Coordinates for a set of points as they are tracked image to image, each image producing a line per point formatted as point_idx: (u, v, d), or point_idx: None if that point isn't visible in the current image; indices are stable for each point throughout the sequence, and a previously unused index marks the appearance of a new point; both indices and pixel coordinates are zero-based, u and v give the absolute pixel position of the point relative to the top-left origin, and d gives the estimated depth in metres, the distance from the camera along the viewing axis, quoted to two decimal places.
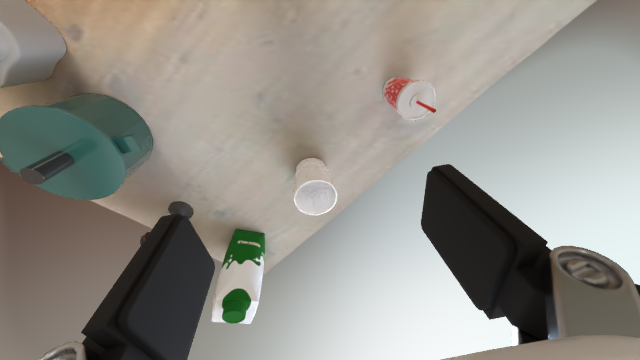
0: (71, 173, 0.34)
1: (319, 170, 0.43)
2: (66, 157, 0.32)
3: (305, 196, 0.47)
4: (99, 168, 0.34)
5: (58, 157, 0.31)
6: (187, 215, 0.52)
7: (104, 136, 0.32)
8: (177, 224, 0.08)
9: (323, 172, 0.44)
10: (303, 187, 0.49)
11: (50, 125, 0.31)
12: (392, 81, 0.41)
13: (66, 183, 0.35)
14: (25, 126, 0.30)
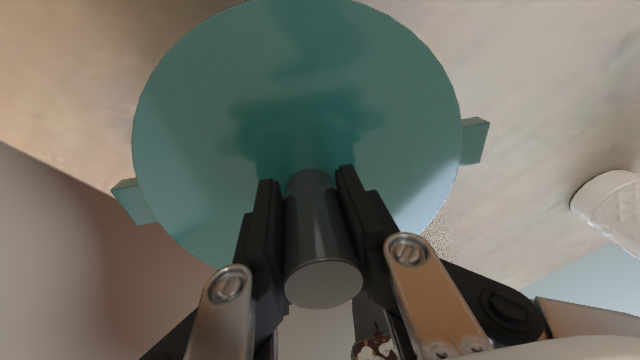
0: None
1: None
2: (335, 188, 0.10)
3: None
4: None
5: (332, 191, 0.09)
6: None
7: (459, 122, 0.10)
8: (275, 186, 0.09)
9: None
10: None
11: (331, 80, 0.09)
12: None
13: None
14: (250, 81, 0.08)
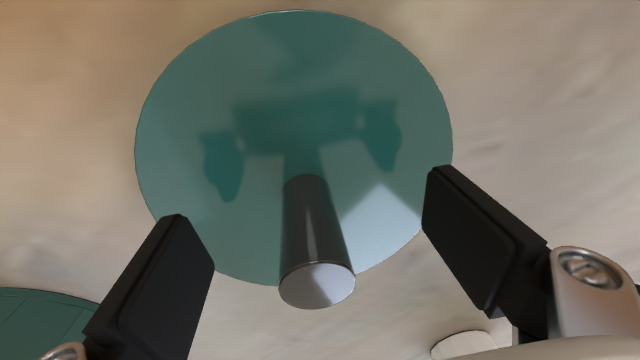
0: None
1: None
2: (330, 193, 0.11)
3: None
4: (376, 217, 0.13)
5: (327, 196, 0.10)
6: None
7: (450, 129, 0.10)
8: (177, 224, 0.08)
9: None
10: None
11: (325, 90, 0.09)
12: None
13: (276, 254, 0.13)
14: (248, 91, 0.09)
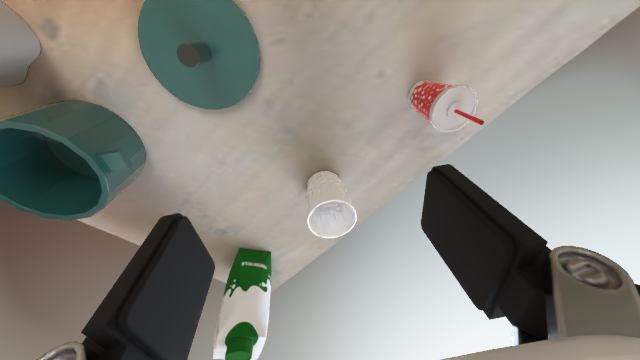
0: (204, 73, 0.32)
1: (335, 187, 0.38)
2: (208, 48, 0.30)
3: (318, 215, 0.42)
4: (234, 67, 0.32)
5: (203, 45, 0.29)
6: None
7: (250, 25, 0.30)
8: (177, 224, 0.08)
9: (340, 189, 0.38)
10: None
11: (199, 7, 0.28)
12: (421, 85, 0.35)
13: (196, 86, 0.32)
14: (173, 6, 0.28)
